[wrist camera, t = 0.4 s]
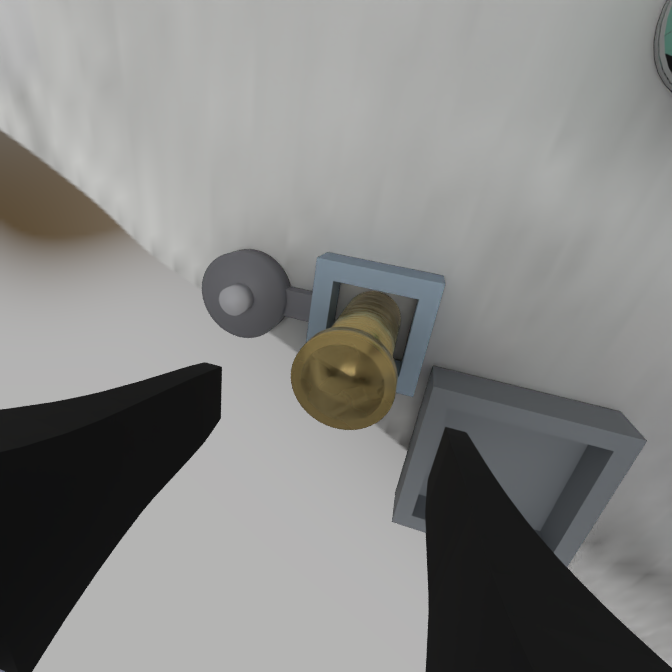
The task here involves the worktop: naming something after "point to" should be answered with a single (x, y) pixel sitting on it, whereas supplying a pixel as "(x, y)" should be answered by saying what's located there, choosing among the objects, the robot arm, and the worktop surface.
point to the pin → (351, 365)
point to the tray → (524, 453)
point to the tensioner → (316, 298)
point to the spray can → (664, 45)
